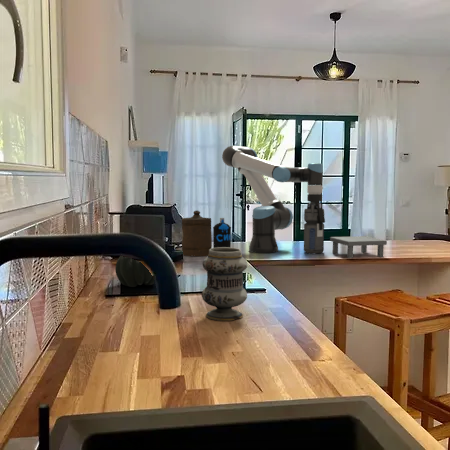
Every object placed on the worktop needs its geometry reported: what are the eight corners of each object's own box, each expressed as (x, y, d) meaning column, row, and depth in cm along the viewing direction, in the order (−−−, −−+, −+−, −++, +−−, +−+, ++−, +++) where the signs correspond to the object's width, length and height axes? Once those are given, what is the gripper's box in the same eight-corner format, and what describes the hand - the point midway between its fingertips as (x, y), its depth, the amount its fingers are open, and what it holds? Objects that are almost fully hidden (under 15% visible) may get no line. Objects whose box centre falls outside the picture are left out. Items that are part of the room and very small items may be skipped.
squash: (163, 273, 160) (157, 236, 168) (117, 277, 156) (113, 239, 164) (159, 294, 171) (154, 259, 179) (116, 298, 167) (113, 262, 175)
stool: (348, 258, 228) (348, 241, 228) (330, 252, 248) (330, 237, 247) (386, 257, 233) (386, 240, 232) (365, 251, 252) (365, 236, 251)
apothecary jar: (226, 325, 120) (226, 253, 118) (192, 316, 128) (192, 249, 126) (256, 315, 129) (256, 248, 127) (222, 307, 137) (223, 245, 135)
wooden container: (194, 251, 251) (194, 209, 249) (217, 254, 243) (217, 210, 241) (175, 255, 239) (175, 210, 237) (199, 257, 230) (199, 211, 229)
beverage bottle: (325, 251, 252) (326, 203, 250) (321, 254, 240) (322, 204, 238) (306, 250, 256) (307, 203, 254) (301, 253, 244) (302, 204, 241)
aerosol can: (210, 261, 218) (210, 217, 216) (226, 260, 221) (226, 217, 220) (217, 264, 211) (217, 218, 209) (234, 263, 214) (234, 218, 212)
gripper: (332, 194, 234) (331, 237, 236) (312, 193, 258) (311, 232, 260) (318, 194, 232) (317, 237, 234) (299, 193, 257) (298, 233, 259)
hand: (314, 235), depth 247 cm, fingers open, 13 cm apart
